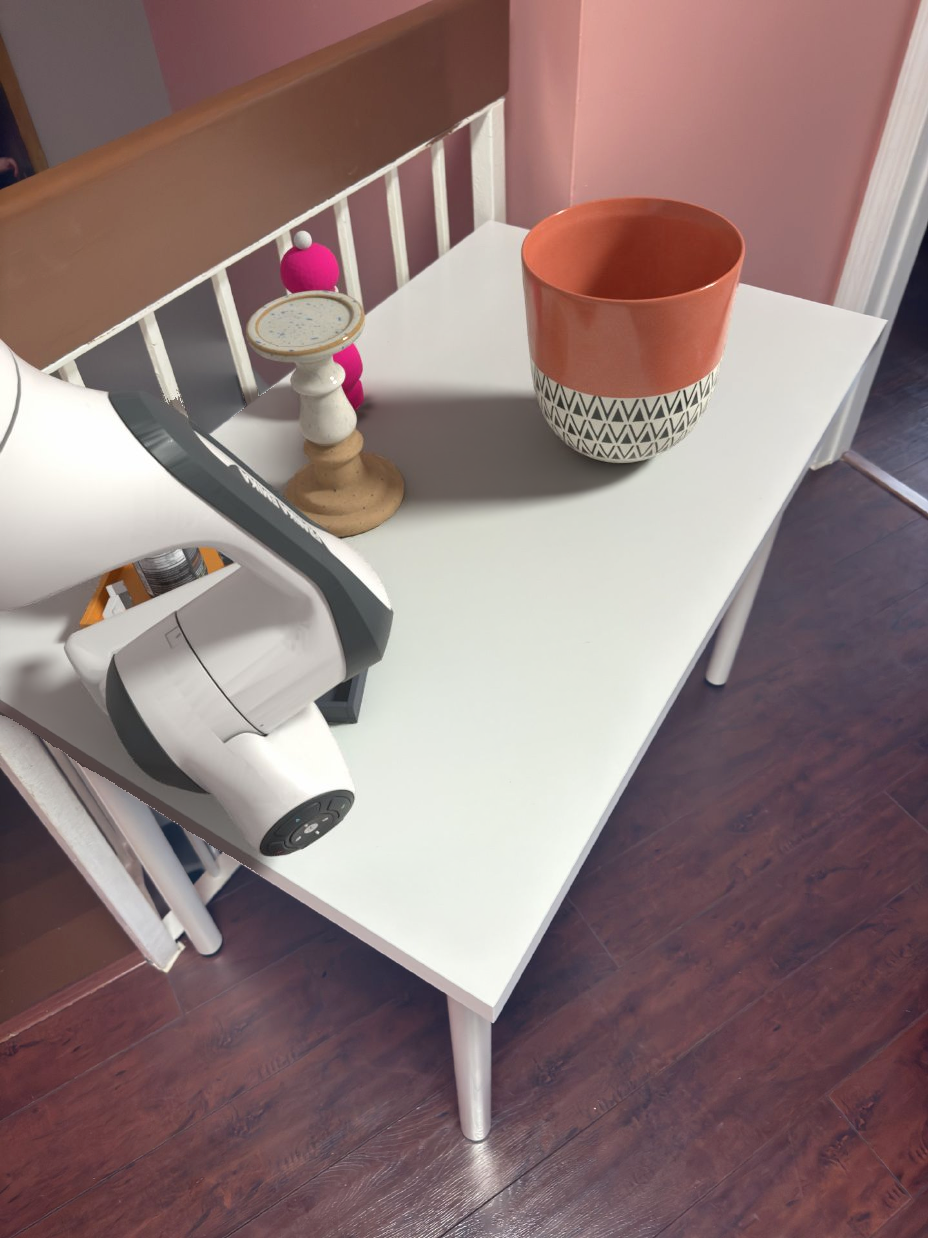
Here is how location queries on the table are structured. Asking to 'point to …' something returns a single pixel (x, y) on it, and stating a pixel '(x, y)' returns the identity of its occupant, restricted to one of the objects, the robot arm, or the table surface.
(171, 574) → the pill bottle
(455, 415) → the table surface
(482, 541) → the table surface
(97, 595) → the amber tray
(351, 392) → the pepper mill
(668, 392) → the planter
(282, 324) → the candle holder
